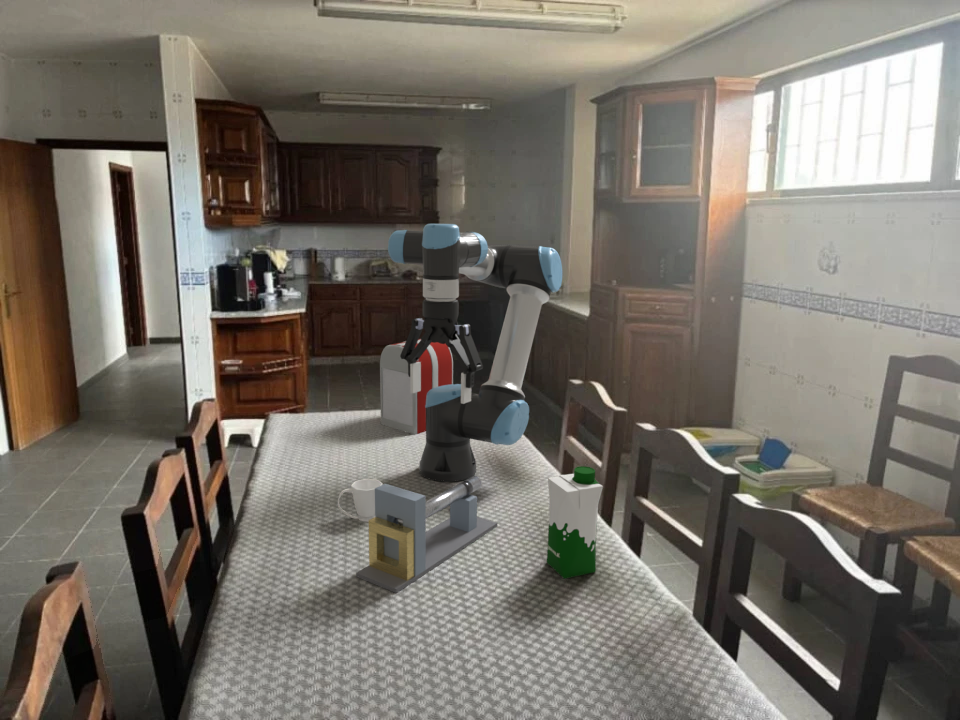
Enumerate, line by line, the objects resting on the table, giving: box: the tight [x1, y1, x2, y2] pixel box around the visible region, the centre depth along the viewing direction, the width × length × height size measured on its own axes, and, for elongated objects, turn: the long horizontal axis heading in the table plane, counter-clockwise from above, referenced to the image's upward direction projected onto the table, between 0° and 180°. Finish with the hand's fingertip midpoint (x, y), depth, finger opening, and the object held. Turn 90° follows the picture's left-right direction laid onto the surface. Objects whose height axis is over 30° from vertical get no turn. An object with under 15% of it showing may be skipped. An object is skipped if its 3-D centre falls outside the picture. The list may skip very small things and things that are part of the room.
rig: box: [355, 483, 498, 594], centre depth 143 cm, size 34×10×16 cm, turn 146°
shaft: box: [393, 475, 483, 526], centre depth 145 cm, size 26×3×3 cm, turn 146°
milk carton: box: [546, 465, 604, 580], centre depth 137 cm, size 9×9×20 cm
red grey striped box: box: [379, 338, 454, 435], centre depth 226 cm, size 16×18×27 cm
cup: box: [337, 478, 383, 523], centre depth 158 cm, size 7×10×8 cm
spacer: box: [368, 517, 414, 581], centre depth 134 cm, size 2×10×10 cm, turn 56°
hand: (440, 397), depth 152 cm, fingers open, 13 cm apart
